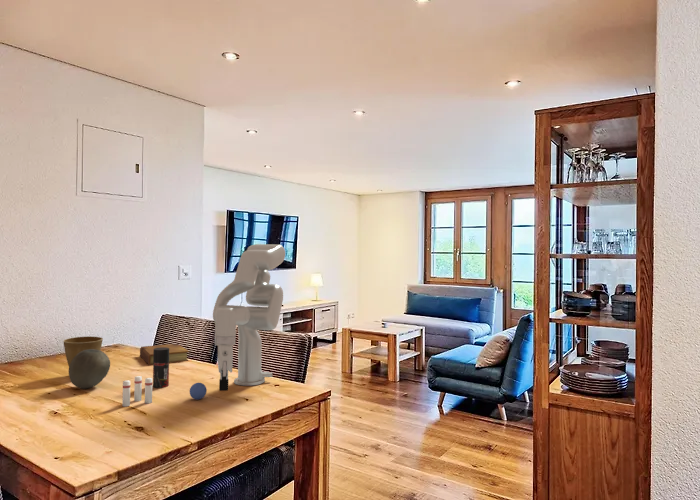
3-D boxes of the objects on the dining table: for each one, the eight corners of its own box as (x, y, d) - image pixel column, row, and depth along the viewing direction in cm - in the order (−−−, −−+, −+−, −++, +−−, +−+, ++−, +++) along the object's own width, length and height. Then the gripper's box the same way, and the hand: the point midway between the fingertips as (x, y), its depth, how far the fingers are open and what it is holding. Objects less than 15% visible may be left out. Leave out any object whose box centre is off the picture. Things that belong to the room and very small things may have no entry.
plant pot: (54, 378, 205) (55, 340, 205) (85, 370, 219) (86, 335, 219) (79, 382, 200) (80, 343, 200) (109, 374, 213) (110, 337, 214)
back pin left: (130, 404, 171) (131, 380, 172) (129, 406, 169) (129, 381, 169) (122, 404, 171) (123, 380, 171) (121, 406, 168) (122, 382, 168)
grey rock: (81, 394, 182) (81, 354, 182) (61, 388, 190) (62, 350, 190) (116, 386, 194) (117, 348, 194) (96, 381, 202) (97, 345, 202)
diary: (139, 357, 251) (140, 346, 251) (177, 354, 261) (177, 343, 261) (148, 366, 232) (148, 354, 232) (188, 362, 242) (188, 350, 242)
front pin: (152, 401, 175) (152, 377, 175) (151, 403, 173) (152, 379, 173) (145, 401, 175) (145, 378, 175) (144, 403, 172) (144, 379, 172)
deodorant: (163, 388, 192) (163, 350, 192) (149, 387, 193) (150, 349, 193) (171, 384, 198) (172, 347, 198) (158, 383, 199) (159, 347, 199)
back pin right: (142, 399, 178) (142, 375, 178) (141, 401, 175) (141, 377, 175) (134, 399, 177) (135, 376, 177) (133, 401, 174) (133, 377, 175)
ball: (206, 396, 182) (206, 380, 182) (206, 401, 176) (206, 384, 176) (189, 397, 180) (190, 381, 180) (189, 402, 175) (189, 385, 175)
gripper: (236, 343, 175) (234, 394, 174) (234, 337, 189) (233, 385, 188) (214, 343, 173) (213, 395, 172) (214, 338, 187) (213, 386, 186)
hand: (223, 390), depth 180 cm, fingers closed
